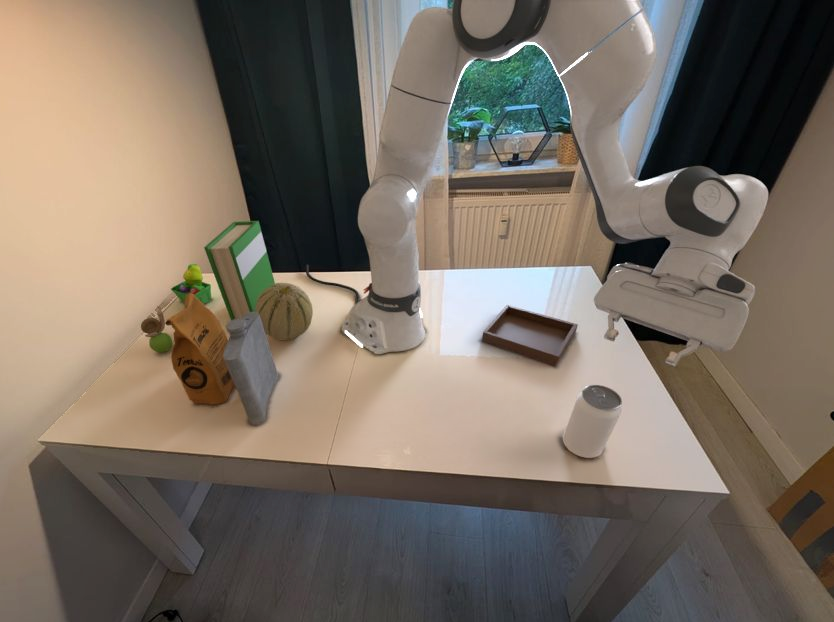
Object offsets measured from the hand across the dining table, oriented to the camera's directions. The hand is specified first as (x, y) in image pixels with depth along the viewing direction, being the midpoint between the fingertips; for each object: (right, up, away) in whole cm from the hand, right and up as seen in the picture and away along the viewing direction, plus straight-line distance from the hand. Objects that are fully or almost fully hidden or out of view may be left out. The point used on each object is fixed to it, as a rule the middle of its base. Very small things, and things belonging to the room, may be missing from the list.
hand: (637, 351), depth 63 cm
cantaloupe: (-66, +4, +39) cm, 77 cm away
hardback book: (-79, +12, +51) cm, 94 cm away
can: (-7, -17, +5) cm, 19 cm away
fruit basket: (-100, +16, +59) cm, 118 cm away
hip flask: (-68, -11, +21) cm, 72 cm away
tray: (-6, +3, +30) cm, 30 cm away
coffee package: (-80, -9, +25) cm, 85 cm away
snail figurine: (-99, 0, +39) cm, 107 cm away
